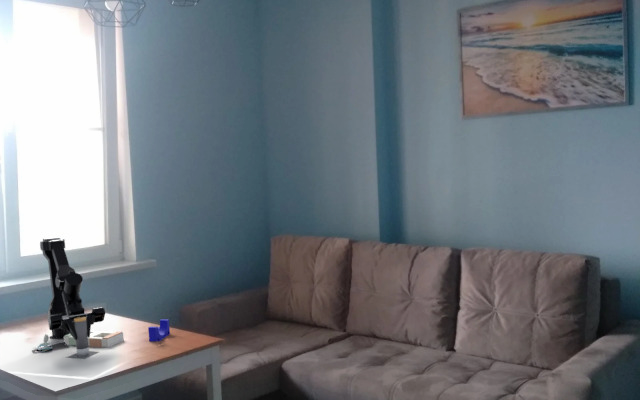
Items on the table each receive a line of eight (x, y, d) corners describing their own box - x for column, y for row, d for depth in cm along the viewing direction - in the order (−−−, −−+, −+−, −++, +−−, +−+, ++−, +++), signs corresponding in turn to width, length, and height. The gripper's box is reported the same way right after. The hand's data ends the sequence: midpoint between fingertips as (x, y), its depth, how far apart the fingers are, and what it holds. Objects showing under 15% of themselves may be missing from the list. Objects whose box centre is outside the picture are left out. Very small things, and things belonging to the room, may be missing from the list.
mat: (66, 359, 234) (65, 357, 233) (81, 352, 241) (81, 350, 241) (84, 360, 231) (84, 358, 231) (99, 353, 238) (99, 351, 238)
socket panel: (63, 346, 251) (62, 336, 251) (80, 339, 260) (79, 329, 259) (107, 348, 244) (107, 338, 244) (123, 341, 253) (122, 331, 252)
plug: (74, 356, 235) (71, 319, 234) (82, 352, 238) (79, 316, 238) (83, 356, 233) (80, 319, 232) (91, 353, 237) (88, 317, 236)
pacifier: (36, 356, 240) (53, 352, 244) (34, 339, 240) (51, 335, 243) (33, 351, 247) (50, 347, 250) (31, 334, 246) (48, 331, 249)
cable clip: (159, 334, 261) (157, 319, 261) (169, 334, 260) (168, 319, 260) (145, 343, 249) (144, 327, 249) (157, 343, 248) (155, 327, 248)
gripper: (96, 310, 253) (106, 345, 244) (43, 319, 243) (52, 356, 234) (100, 293, 246) (110, 328, 237) (46, 301, 236) (55, 338, 227)
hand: (82, 338), depth 234 cm, fingers closed on plug, 4 cm apart
